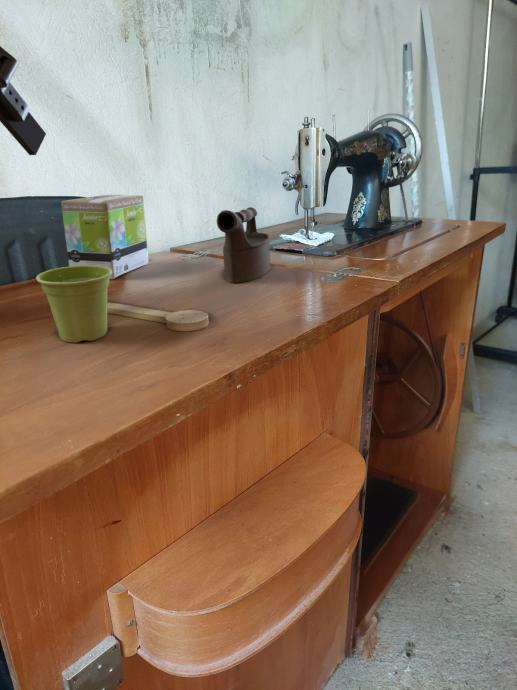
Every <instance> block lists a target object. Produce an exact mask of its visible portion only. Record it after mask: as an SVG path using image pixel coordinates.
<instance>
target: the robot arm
mask: <svg viewBox="0 0 517 690" xmlns="http://www.w3.org/2000/svg"><path fill="white" fill-rule="evenodd" d="M18 67H19V62H18V59H16V58H15V57H14V56H13V55H11V54H10V53H9V51H7V50H6V49H4V48H3V47H2V46H1V45H0V123H1V124H2V125H3V127H4V128H5V129H6V130H7V131H8V132H9V133H10V135H11V136H12V137H13V138H14V139H15V140H16V142H17V143H18V145H20V146H21V147H22V148H23V150H24V151H25V152H26V153H27V154H28V156H37V154H38V152H39V149H40V148H41V146H42V144H43V141H44V139H45V138H46V136H47V132H45V130H44V129H43V128H42V127H41V125H40V124H39V123H38V121H37V120H36V119H35V118H34V116H33V115H32V113H30V108H29V107H30V106H29V105H28V103H27V102H26V101H25V100H24V98H23V97H22V96H21V95H20V94H19V92H18V91H17V90H16V88H15V87H14V86H13V84H12V83H11V82H10V81H11V80H12V78H13V76H14V75H15V72H16V70H17V68H18Z"/></svg>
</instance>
